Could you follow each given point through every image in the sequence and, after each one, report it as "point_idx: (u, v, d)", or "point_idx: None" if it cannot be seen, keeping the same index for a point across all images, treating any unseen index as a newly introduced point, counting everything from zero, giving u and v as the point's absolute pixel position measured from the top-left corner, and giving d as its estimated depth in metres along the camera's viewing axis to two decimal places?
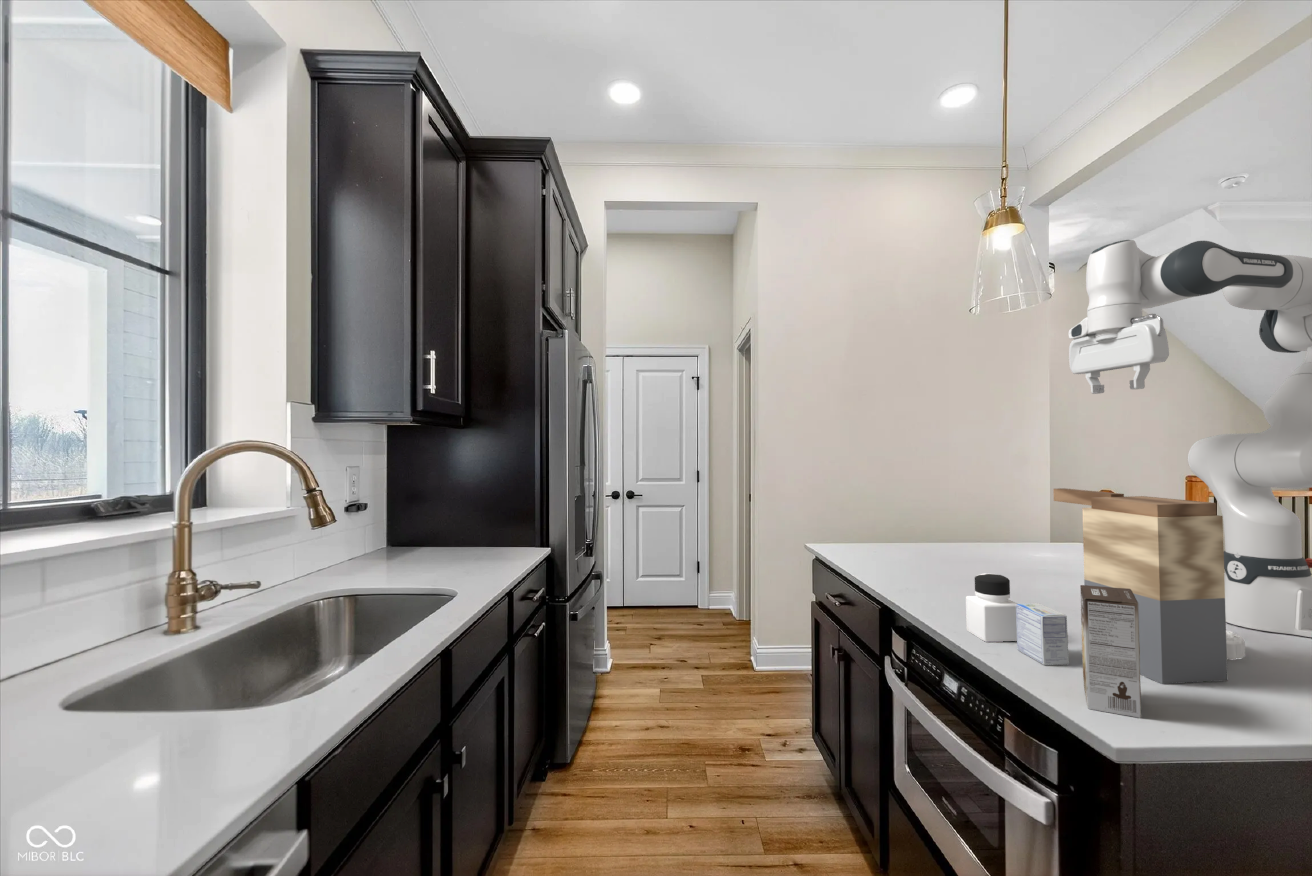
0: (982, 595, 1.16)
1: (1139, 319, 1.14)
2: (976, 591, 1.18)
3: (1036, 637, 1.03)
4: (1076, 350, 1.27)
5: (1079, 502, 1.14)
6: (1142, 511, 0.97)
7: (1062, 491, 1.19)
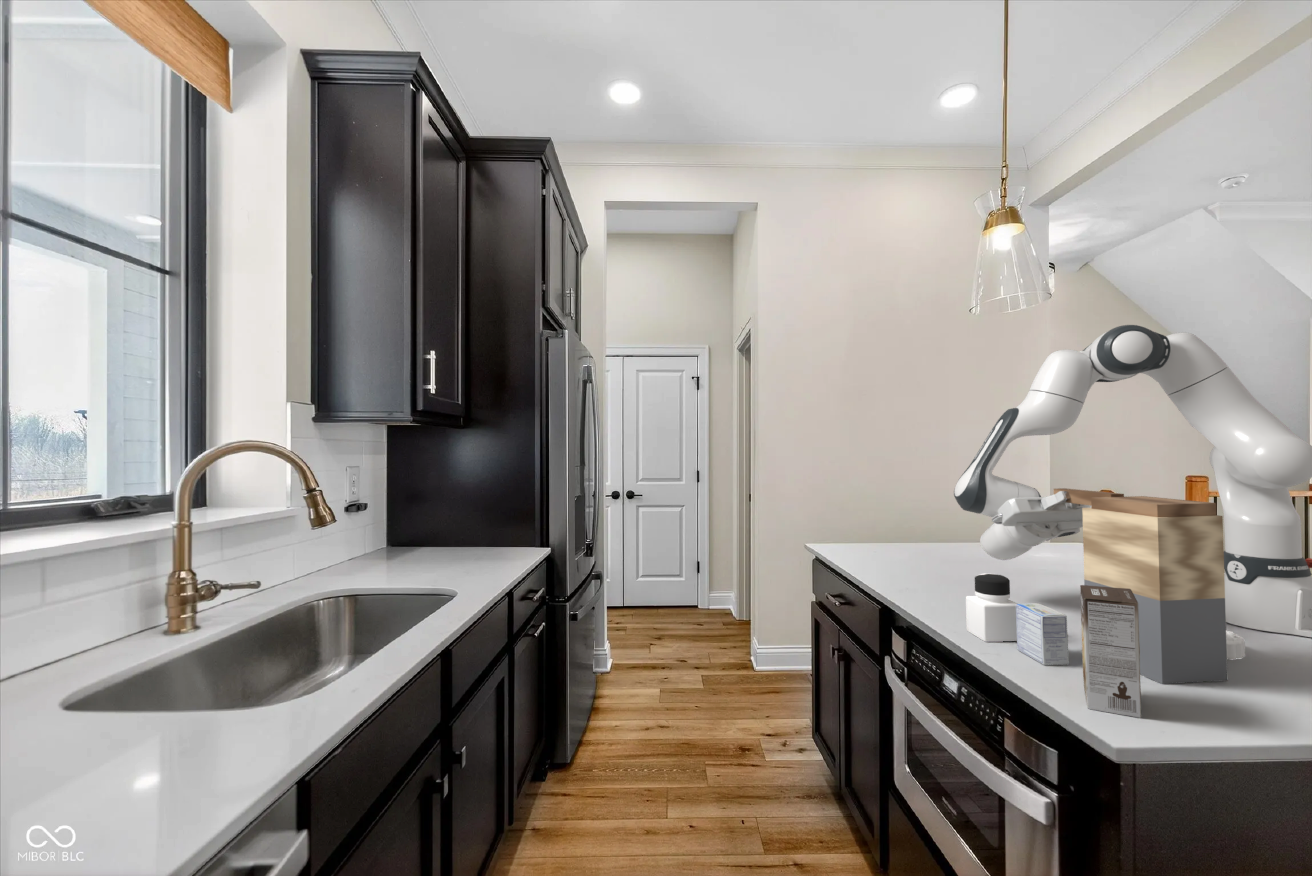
0: (982, 595, 1.16)
1: None
2: (976, 591, 1.18)
3: (1036, 637, 1.03)
4: None
5: (1079, 502, 1.14)
6: (1142, 511, 0.97)
7: None
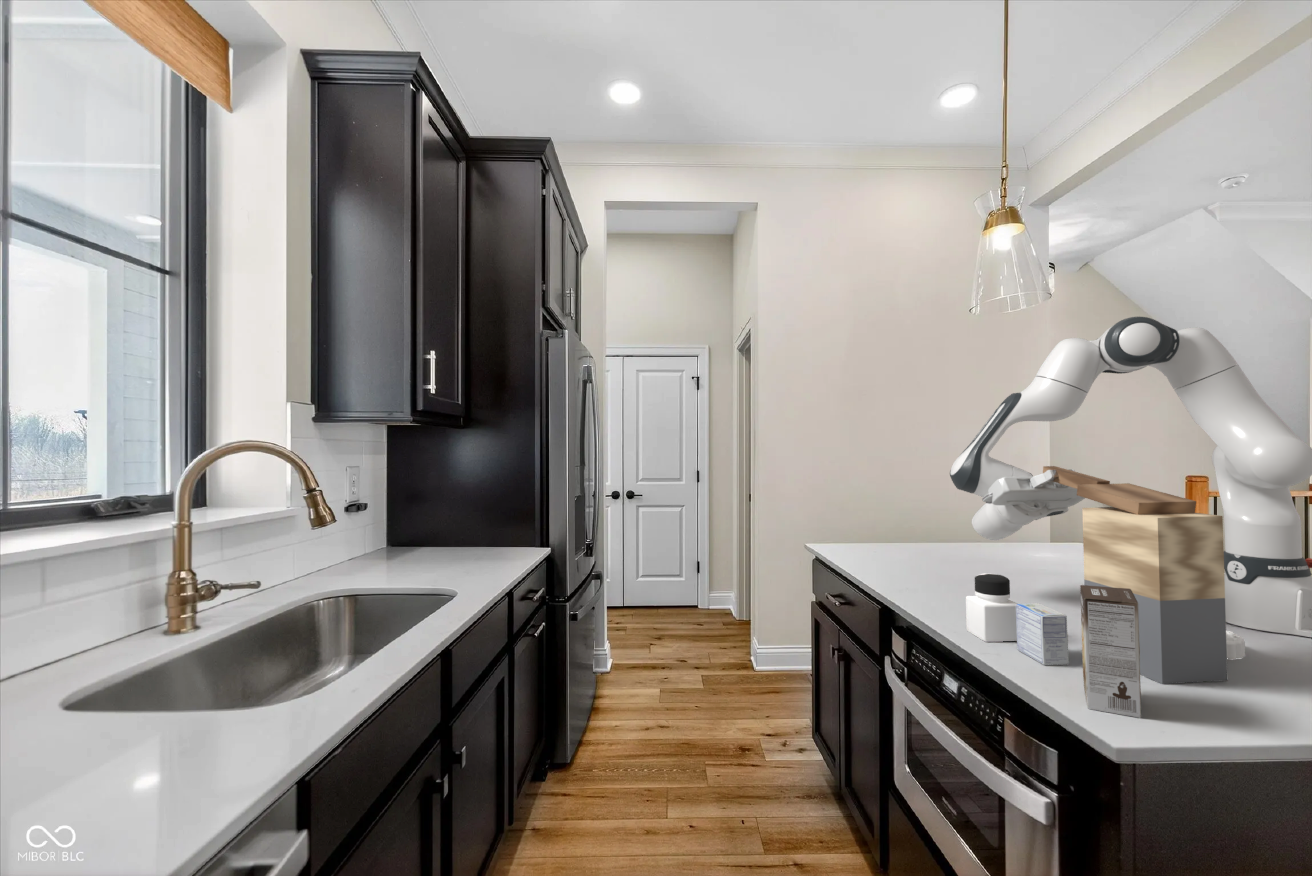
0: (982, 595, 1.16)
1: None
2: (976, 591, 1.18)
3: (1036, 637, 1.03)
4: (1071, 500, 1.28)
5: (1066, 483, 1.18)
6: (1124, 506, 1.00)
7: None
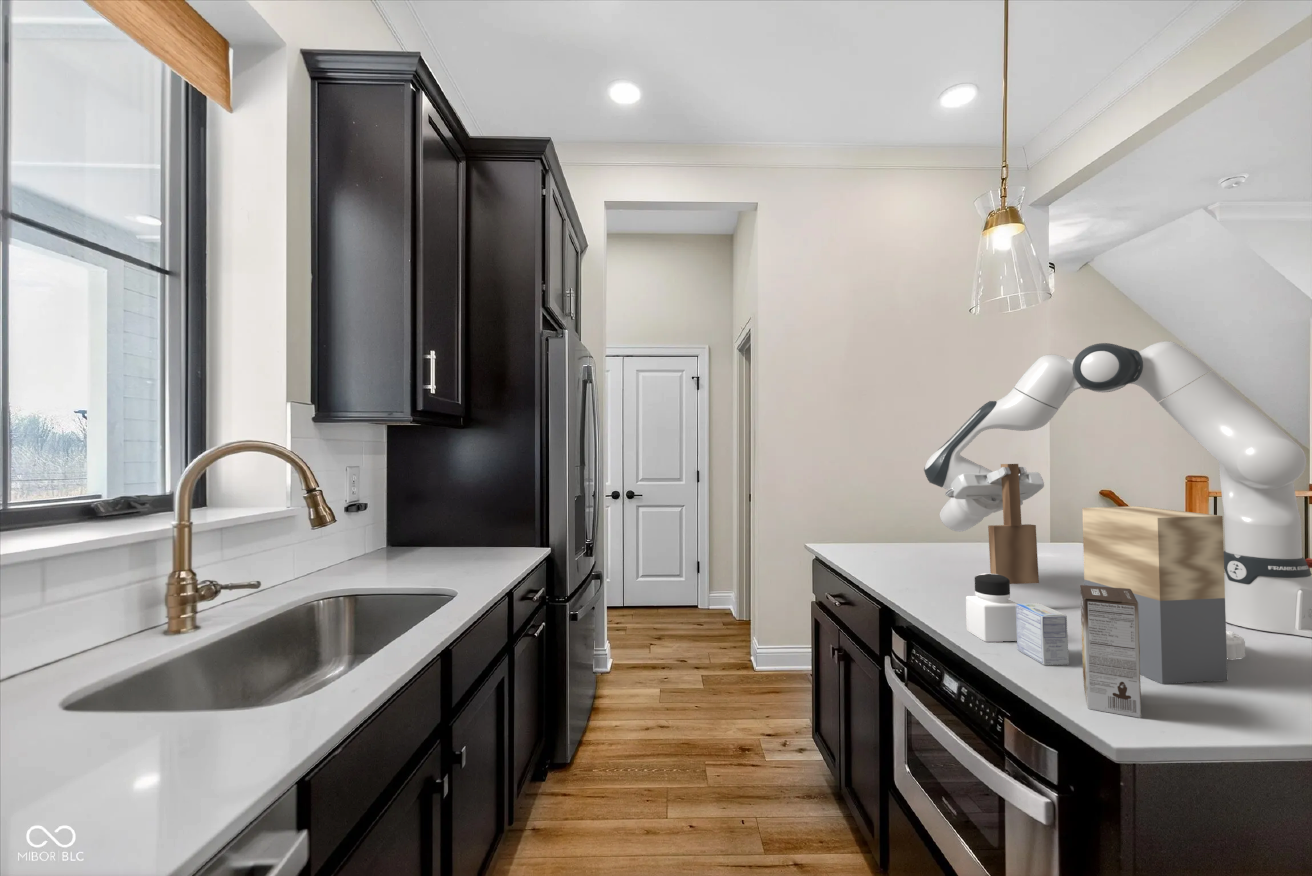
0: (982, 595, 1.16)
1: None
2: (976, 591, 1.18)
3: (1036, 637, 1.03)
4: (1025, 494, 1.42)
5: (1003, 493, 1.37)
6: (992, 571, 1.35)
7: None
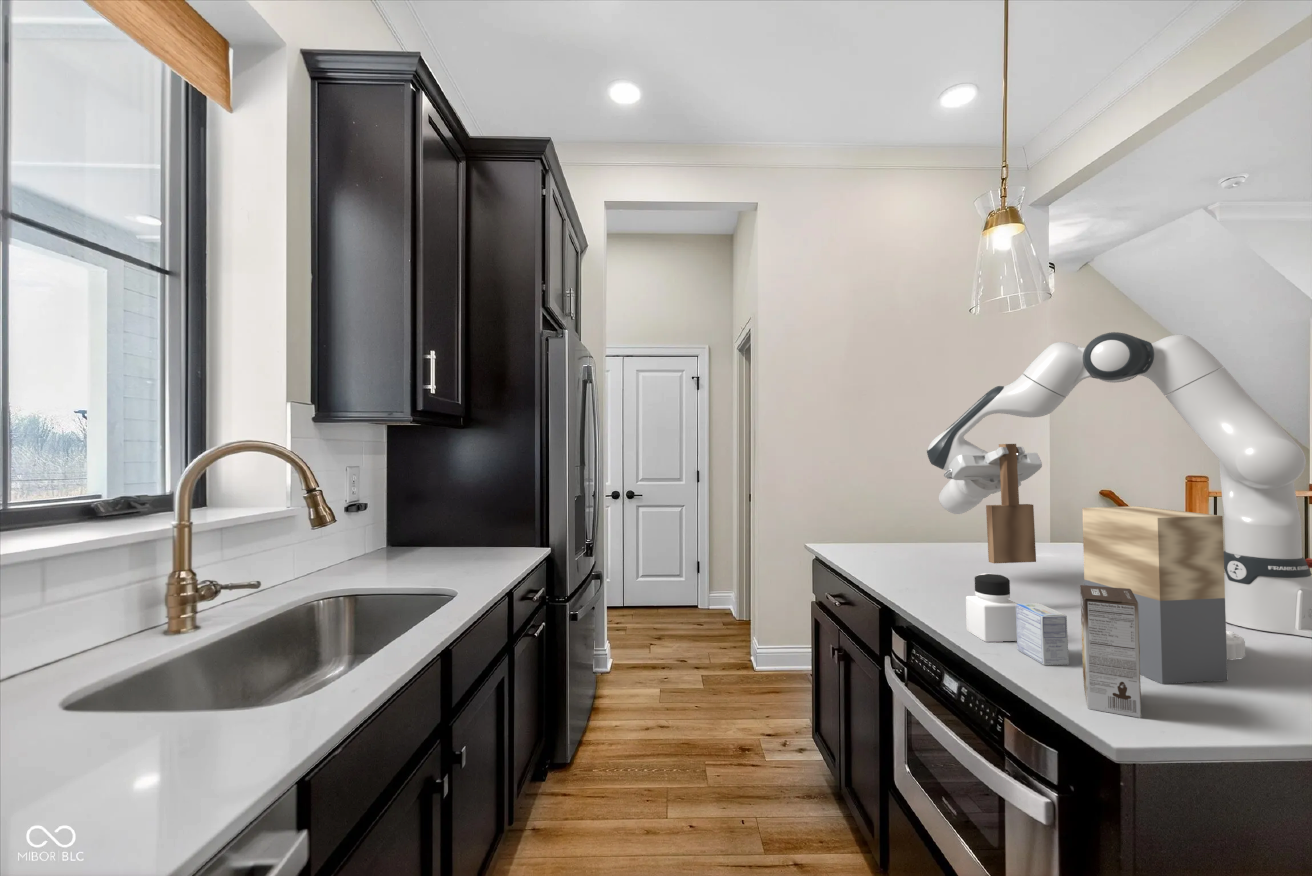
0: (982, 595, 1.16)
1: None
2: (976, 591, 1.18)
3: (1036, 637, 1.03)
4: (1023, 475, 1.43)
5: (1000, 473, 1.37)
6: (989, 550, 1.36)
7: None
